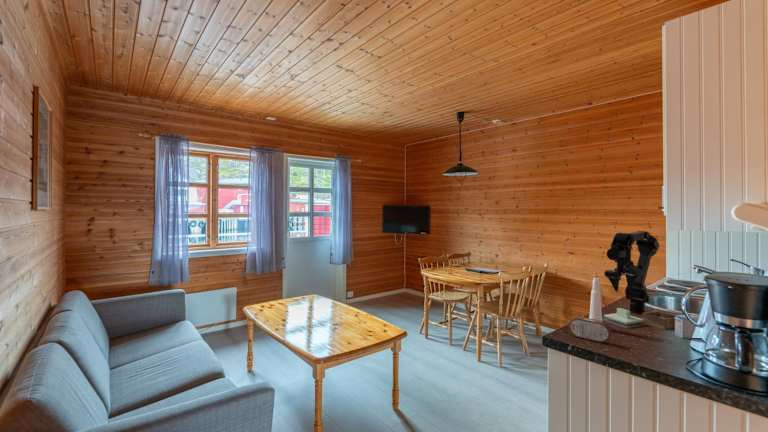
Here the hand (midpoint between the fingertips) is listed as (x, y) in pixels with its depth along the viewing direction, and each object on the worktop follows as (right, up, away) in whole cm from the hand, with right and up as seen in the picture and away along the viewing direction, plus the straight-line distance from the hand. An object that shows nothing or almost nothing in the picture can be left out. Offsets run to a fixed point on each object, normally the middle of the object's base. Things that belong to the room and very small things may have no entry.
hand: (623, 290), depth 169 cm
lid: (-6, -13, -8) cm, 16 cm away
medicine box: (+9, -14, -26) cm, 31 cm away
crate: (+9, -13, -11) cm, 20 cm away
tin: (-34, -14, -29) cm, 46 cm away
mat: (-6, -13, -8) cm, 16 cm away
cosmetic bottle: (-23, -14, -14) cm, 30 cm away
